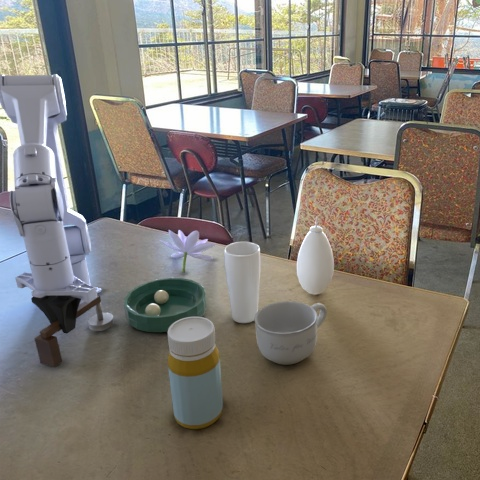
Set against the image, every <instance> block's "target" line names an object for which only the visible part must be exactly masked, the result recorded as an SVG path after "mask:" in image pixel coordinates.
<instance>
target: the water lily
mask: <svg viewBox="0 0 480 480" xmlns="http://www.w3.org/2000/svg"><path fill="white" fill-rule="evenodd" d="M168 235H169V237H170V239H171V241H172V242H173V243H174V244H175V245H173V244H172V243H170V242H168V241H166V240H163V239H159V241H160V243H162V244H163V245H164V246H166V247H168V248H170V249H171V250H173V251H176V252H174V253H172V254H171V255H170V257H171V258H172V259H182V258H183V259H182V260H183V261H182V262H183V263H182V270H181V273H182V274H185V273H186V263H187V258H188V257H187V256H189V257H192V258H194V259H197V260H204V261H213V260H214V257H212V256H211V255H208V254H203V252H205V251H208V250H210V249H212V248H213V247H215V246H217V243H216V242H208V240H209V239H208V238H204V239H202V240H199V239H200V232H199V231H198V230H193V231H191V232H190V233H189V234H188V235H187V236H186V235H185V234H184V232H183V231H182V230H181V229H178V231H177V233H175V232H174V231H172V230H170V229H168Z"/></svg>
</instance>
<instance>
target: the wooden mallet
mask: <svg viewBox="0 0 480 480" xmlns="http://www.w3.org/2000/svg"><path fill="white" fill-rule="evenodd" d="M94 307H95V308H94ZM92 308H94V309H95V312H96V313H95V314H93V315H91V316H90V317H89V318H88V320H87V324H88V329H90V331H94V332H100V331H101V332H102V331H105V330H108V329H109V328H112V327H113V326H114V324H115V320H114V315H113V314H112V313H109V312H103V308H102V299H101V296H100V295H98V294H97V298H95V299H94V300H93V301H91V302H89V303H87V302H83V303H82V304H80V305H79V307H78V310H77V316H76V319H78V318H79V317H81V316H82V315H84V314H85V313H87V312H88V311H89V310H91V309H92ZM59 330H60V331H62V330H61V327H60V324H59V320H56V321H55V322H53V323H52V324H51V323H50V324H49V325H47V326H46V327H45V328H43V329H42V330H40V331H39V335H37V336H36V337H34V339H33V340H34V343H35V346H36V351H37V354H38V359H39V363H40V364H42V365H46V366H50V367H53V368H56V367H57V366H58V365H59V364H61V363H62V362H63V358H62V354H61V350H60V345H59V341H58V337H57V335H56V334H57V333H59V332H60V331H59ZM58 331H59V332H58ZM55 335H56V336H55Z"/></svg>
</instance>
